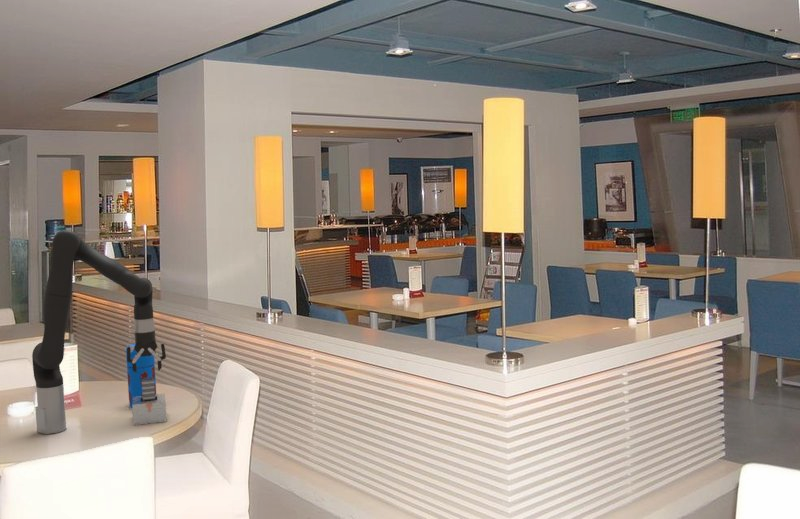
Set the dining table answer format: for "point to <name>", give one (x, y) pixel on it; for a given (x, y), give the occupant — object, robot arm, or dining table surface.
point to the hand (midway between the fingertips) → (147, 371)
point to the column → (148, 389)
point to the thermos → (139, 374)
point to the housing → (149, 410)
